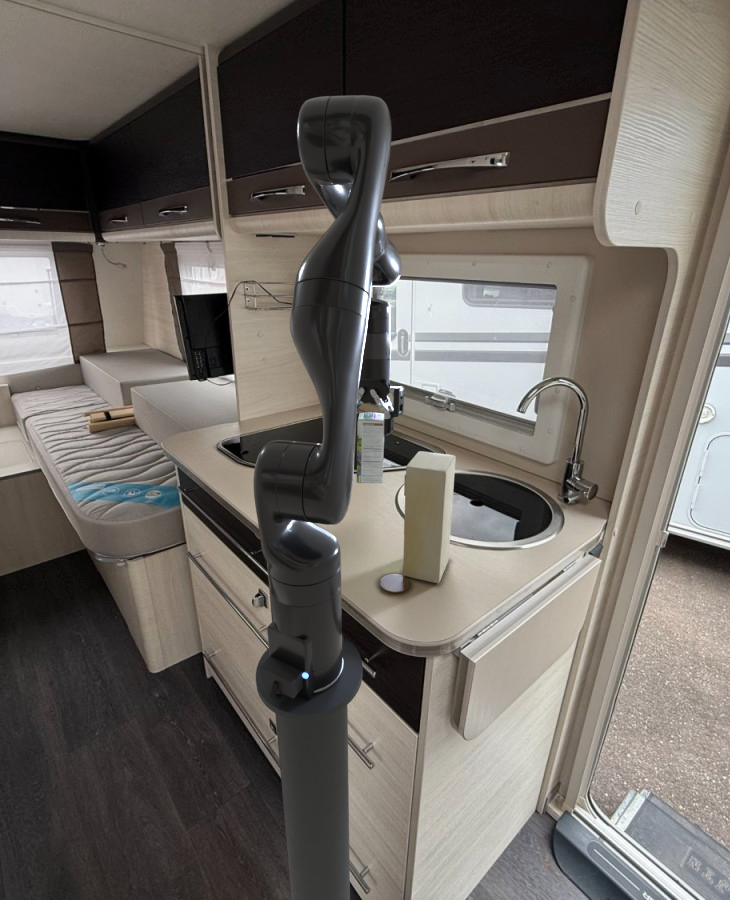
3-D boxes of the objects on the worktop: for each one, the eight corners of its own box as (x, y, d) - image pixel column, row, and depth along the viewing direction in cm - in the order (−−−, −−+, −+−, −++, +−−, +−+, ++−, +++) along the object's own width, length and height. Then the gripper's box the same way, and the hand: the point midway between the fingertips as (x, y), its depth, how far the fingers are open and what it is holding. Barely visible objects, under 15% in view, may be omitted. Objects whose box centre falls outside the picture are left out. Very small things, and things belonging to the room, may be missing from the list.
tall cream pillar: (410, 551, 90) (415, 449, 82) (448, 560, 87) (457, 455, 79) (398, 575, 83) (401, 465, 75) (438, 584, 80) (446, 472, 73)
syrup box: (357, 473, 107) (357, 412, 102) (383, 473, 107) (384, 412, 102) (356, 483, 101) (356, 419, 96) (383, 484, 101) (384, 419, 96)
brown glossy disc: (401, 597, 77) (401, 595, 77) (374, 587, 79) (374, 585, 79) (413, 581, 81) (413, 579, 81) (387, 572, 83) (387, 570, 83)
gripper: (332, 354, 95) (333, 431, 100) (396, 360, 88) (393, 442, 94) (351, 349, 101) (351, 422, 107) (412, 354, 94) (409, 432, 100)
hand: (371, 431), depth 100 cm, fingers closed on syrup box, 7 cm apart
